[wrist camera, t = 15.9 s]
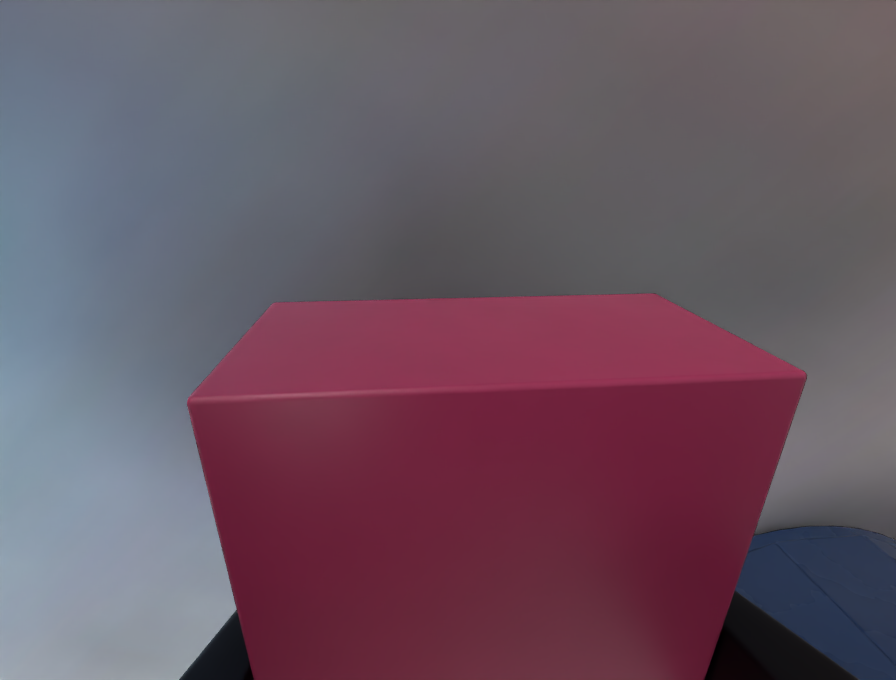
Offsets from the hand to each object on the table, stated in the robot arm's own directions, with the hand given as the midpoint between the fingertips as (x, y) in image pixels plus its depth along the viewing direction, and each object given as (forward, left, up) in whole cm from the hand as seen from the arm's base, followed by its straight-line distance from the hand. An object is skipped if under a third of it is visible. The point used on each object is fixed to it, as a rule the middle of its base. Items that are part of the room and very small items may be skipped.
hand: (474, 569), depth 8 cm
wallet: (0, 0, -1) cm, 1 cm away
